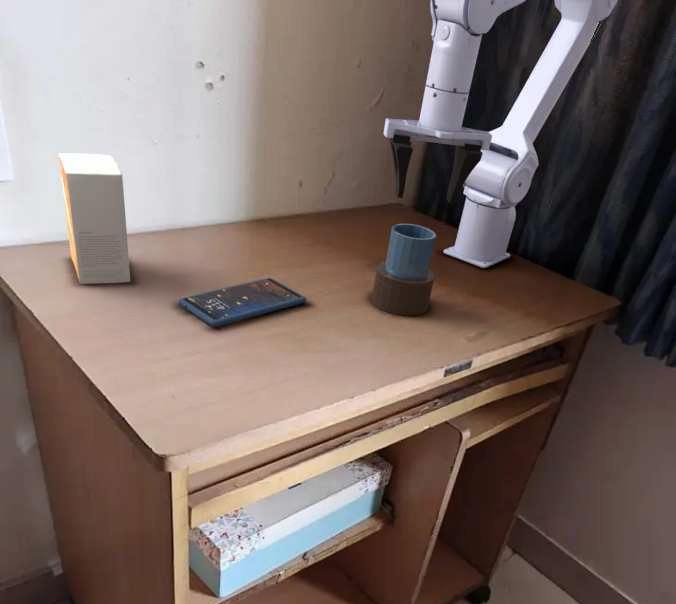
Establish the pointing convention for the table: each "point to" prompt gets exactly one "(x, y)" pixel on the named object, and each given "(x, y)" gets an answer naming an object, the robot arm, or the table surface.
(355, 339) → the table surface
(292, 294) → the smartphone
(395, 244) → the cup
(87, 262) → the small box
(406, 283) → the brown short cylinder
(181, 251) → the table surface
